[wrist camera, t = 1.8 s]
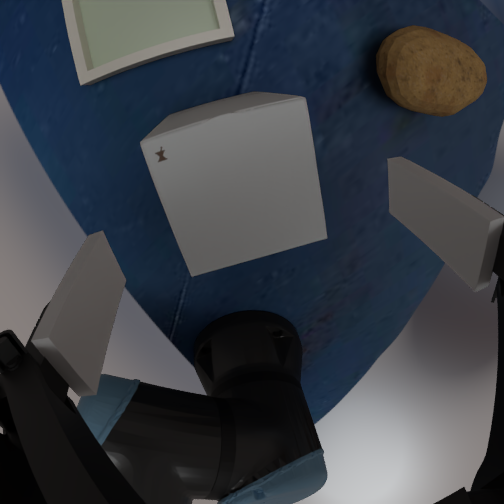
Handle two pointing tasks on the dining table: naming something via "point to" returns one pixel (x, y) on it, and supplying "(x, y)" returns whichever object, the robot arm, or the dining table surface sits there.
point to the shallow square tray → (139, 32)
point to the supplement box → (237, 178)
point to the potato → (429, 71)
